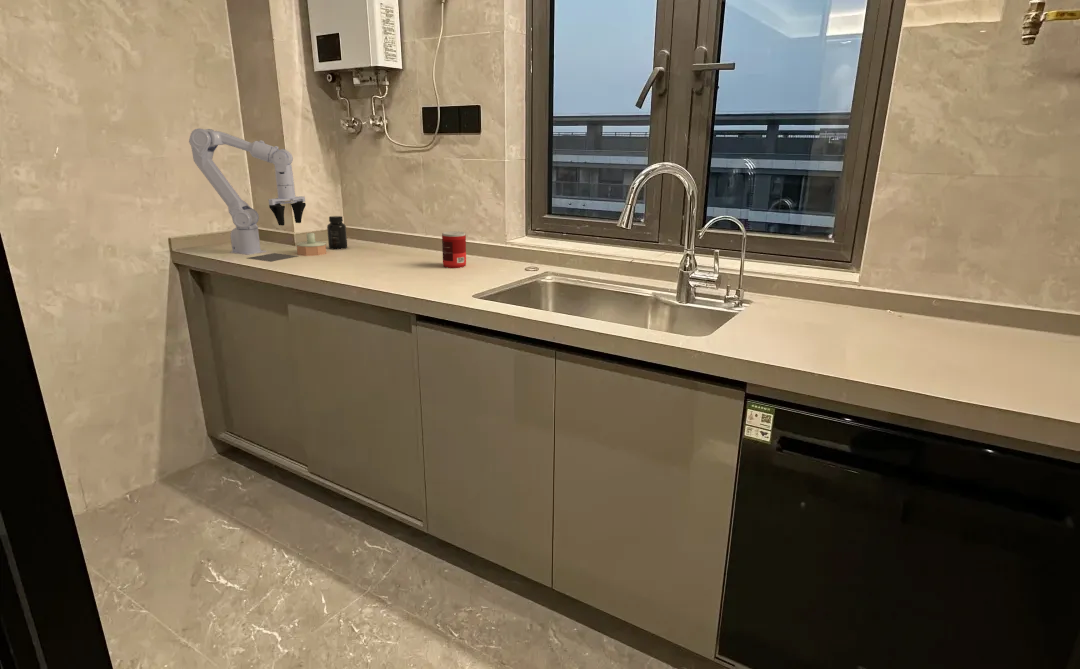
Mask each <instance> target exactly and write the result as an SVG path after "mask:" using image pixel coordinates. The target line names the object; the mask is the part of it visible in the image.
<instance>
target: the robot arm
mask: <svg viewBox="0 0 1080 669" xmlns="http://www.w3.org/2000/svg"><path fill="white" fill-rule="evenodd" d="M188 143H189V145H190V147H191V154H192V160H193V162H194V163H195V165H196V166H197V168H198V169H199V170H200V172H201V173H202V174H203V175H204V177H205V178H206V180H207V181H208V182H209V184H210V185H211V186H212V187H213V189H214V191H216V192H217V194H218V196H220V198H221V199H222V201H223V202H224V203H225V205H226V206H227V209H228V213H229V215H230V216H231V219H232V222H233V224H234V226H235V228H233V229H231V231H230V242H231V244H230V245H231V251H230V252H229V253H230V254H231V253H232V254H239V255H247V256H248V255H249V256H250V255H255V254H261V253H266V252H267V250H262V249H261V243H260V242H261V241H260V232H259V226H258V225H257V223H258V222H259V219H260V216H259V213H258V211H256V210H255V208H252V207H251V206H250V205H249V203H247V202H246V200H243V199H242V198H241V197H240V195H239V194H238V192H237V191H236V190H235V188H234V187H233V186H232V185H231V183H230V182H229V181H228V179H227V178H226V176H225V175H224V174H223V173H222V171H221V169H220V168H219V167H218V166H217V164H216V163H215V162H214V160H213V157H214V154H215V151H216V150H217V148H218V146H223V145H227V146H229V147H233V148H236V149H240V150H242V151H246V152H249V154H250V155H251V157H252V158H255V159H257V160H260V161H263V162H267V163H270V164H272V165H274V171H275V172H274V175H275V183H276V190H277V197H276V198H269V199H268V206H269V209H270V211H271V212H272V213H273V215H274V217H275V219H276V222H277V225H278V226H282V227H283V226H285V209H286V206H285V204H286V205H287V204H290V206H291V209H292V212H293V217H294V222H295V223H296V224H302V218H303V213H304V211H305V210H304V209H306V205H307V204H306V196H305V195H304V196H296V191H295V182H294V180H295V179H294V172H293V166H292V163H293V159H294V158H293V155H292V153H291V152H290V151H289V150H287V149H285V148H281V149H279V148H280V146H277V145H275V146H273V145H270V144H267V143H265V141H264V140H261V139H260V140H255V141H253V142H251V141H247V140H245V139H242V138H240V137H237V136H235V135H232V134H230V133H227V132H224V131H220V130H214V129H210V128H205V129H204V128H195V129H193V130H192V131H191V133H190V135H189V139H188Z"/></svg>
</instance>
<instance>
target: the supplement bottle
mask: <svg viewBox="0 0 1080 669" xmlns="http://www.w3.org/2000/svg"><path fill="white" fill-rule="evenodd" d="M328 222H329V223H328V224H327V226H326V227H327V228H326V229H327V230H326V231H327V242H328V248H329V249H330V248H333V249H332V250H342V249H341V248H345V249H347V248H348V237H347V235H348V234H347V226H346V224H345V223H343V222H344V220H343V216H342V215H331V216H329V217H328Z"/></svg>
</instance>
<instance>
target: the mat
mask: <svg viewBox="0 0 1080 669" xmlns="http://www.w3.org/2000/svg"><path fill="white" fill-rule="evenodd" d="M299 256H300V255H291V254H285V253H278V252H277V253H276V252H273V253H269V254H263V255H256V256H250V257H246V259H248V260H249V259H250V260H255V261H261V262H262V261H264V262H277V261H281V260H287V259H293V258H297V257H298V258H299Z"/></svg>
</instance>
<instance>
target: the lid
mask: <svg viewBox="0 0 1080 669" xmlns="http://www.w3.org/2000/svg"><path fill="white" fill-rule="evenodd" d="M315 233H316V232H306V241H300V242H296V247H297V246H302V247H315V246H323V245H326V246H327V242H326V241H323V240H322V241H321V240H316V234H315Z"/></svg>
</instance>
